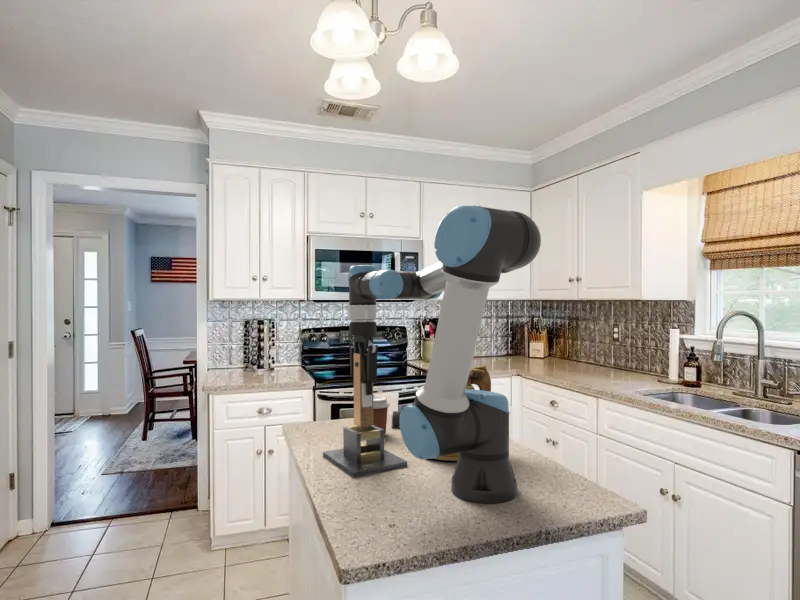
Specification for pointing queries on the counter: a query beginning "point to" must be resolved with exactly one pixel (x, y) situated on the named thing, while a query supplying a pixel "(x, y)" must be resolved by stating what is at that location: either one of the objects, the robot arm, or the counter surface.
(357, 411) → the tapered wooden post
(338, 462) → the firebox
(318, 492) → the counter surface
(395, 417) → the flashlight
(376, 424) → the coffee cup
